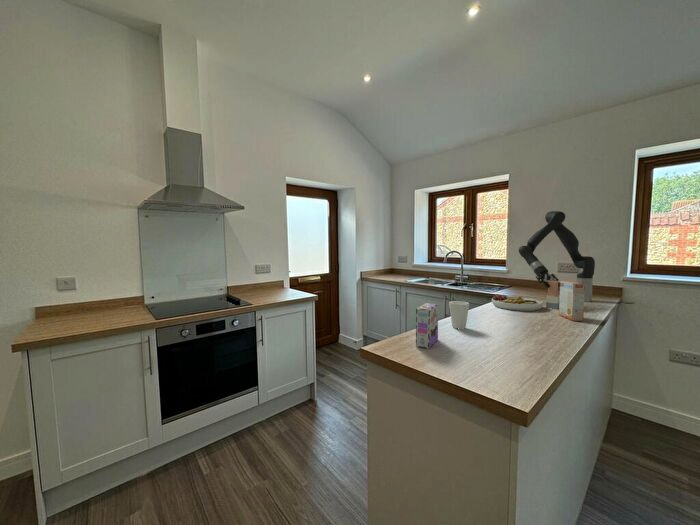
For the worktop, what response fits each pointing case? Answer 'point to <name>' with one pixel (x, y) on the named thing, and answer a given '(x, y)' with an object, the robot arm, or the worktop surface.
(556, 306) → the tower base
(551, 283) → the pillar
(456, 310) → the foam cup
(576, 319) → the cracker box
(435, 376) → the worktop surface
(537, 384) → the worktop surface
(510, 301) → the bowl
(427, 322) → the candy box
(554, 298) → the tower top
